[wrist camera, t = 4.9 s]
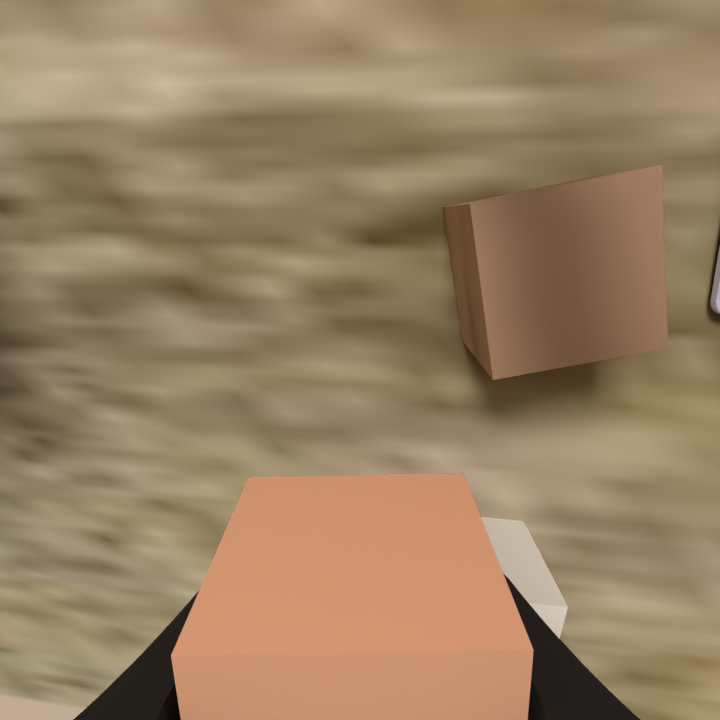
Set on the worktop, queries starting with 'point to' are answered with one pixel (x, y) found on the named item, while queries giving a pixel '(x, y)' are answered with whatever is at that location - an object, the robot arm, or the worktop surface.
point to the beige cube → (527, 569)
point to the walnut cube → (561, 273)
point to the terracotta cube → (354, 607)
